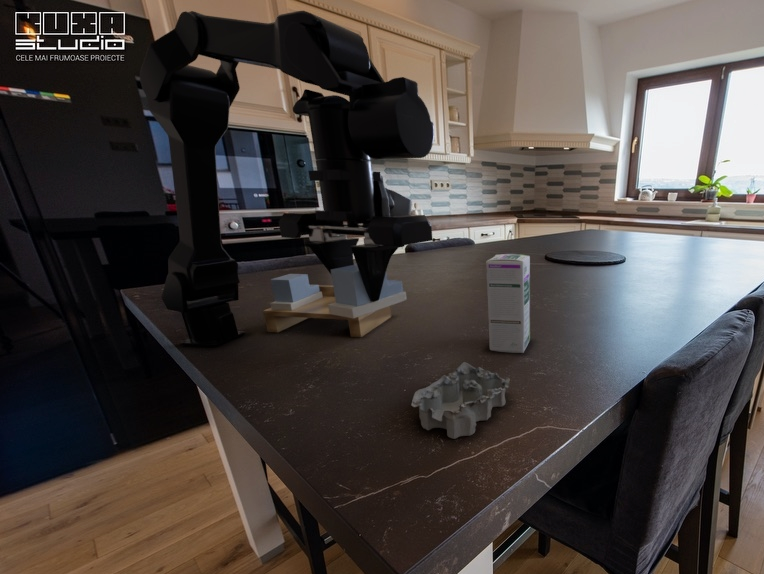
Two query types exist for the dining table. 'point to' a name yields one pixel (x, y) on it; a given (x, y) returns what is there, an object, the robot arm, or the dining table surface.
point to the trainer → (360, 293)
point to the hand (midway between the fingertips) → (363, 299)
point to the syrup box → (508, 302)
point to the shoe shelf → (324, 315)
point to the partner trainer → (293, 292)
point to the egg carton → (460, 400)
